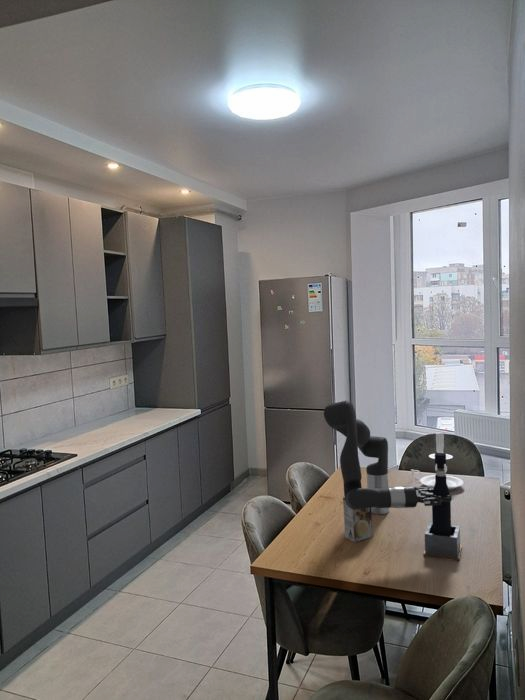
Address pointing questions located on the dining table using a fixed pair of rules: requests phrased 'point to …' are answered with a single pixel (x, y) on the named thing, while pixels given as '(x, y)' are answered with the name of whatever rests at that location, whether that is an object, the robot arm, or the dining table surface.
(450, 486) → the candlestick
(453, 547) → the bottle sleeve
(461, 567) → the dining table surface
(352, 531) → the coffee box
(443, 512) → the wine bottle
